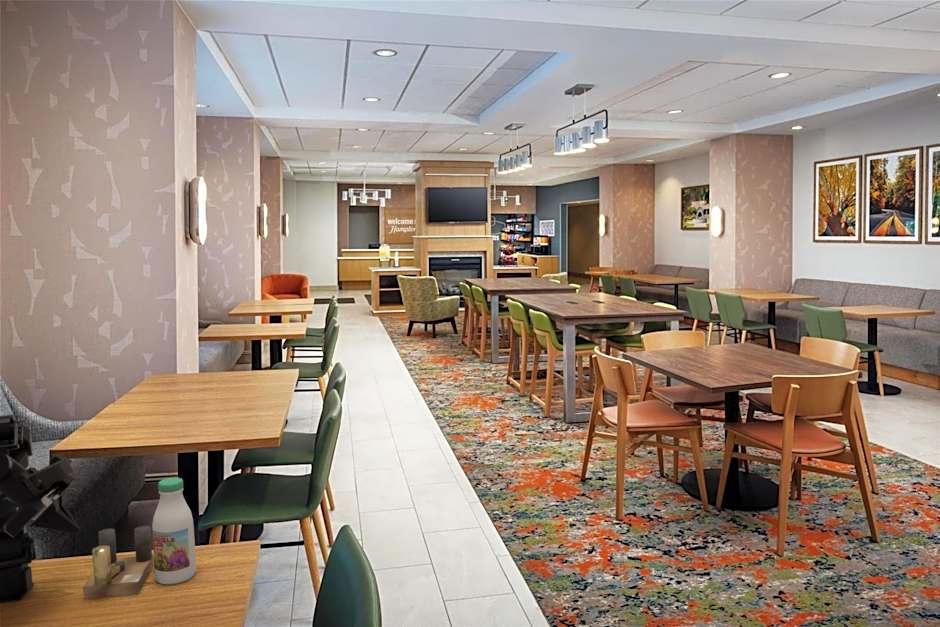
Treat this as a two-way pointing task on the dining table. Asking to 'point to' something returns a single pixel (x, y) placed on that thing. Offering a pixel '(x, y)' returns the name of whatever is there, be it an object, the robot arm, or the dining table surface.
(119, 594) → the square plate with pegs
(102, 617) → the dining table surface
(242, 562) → the dining table surface
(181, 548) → the milk bottle
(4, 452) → the robot arm
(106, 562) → the gold cylinder with bar
